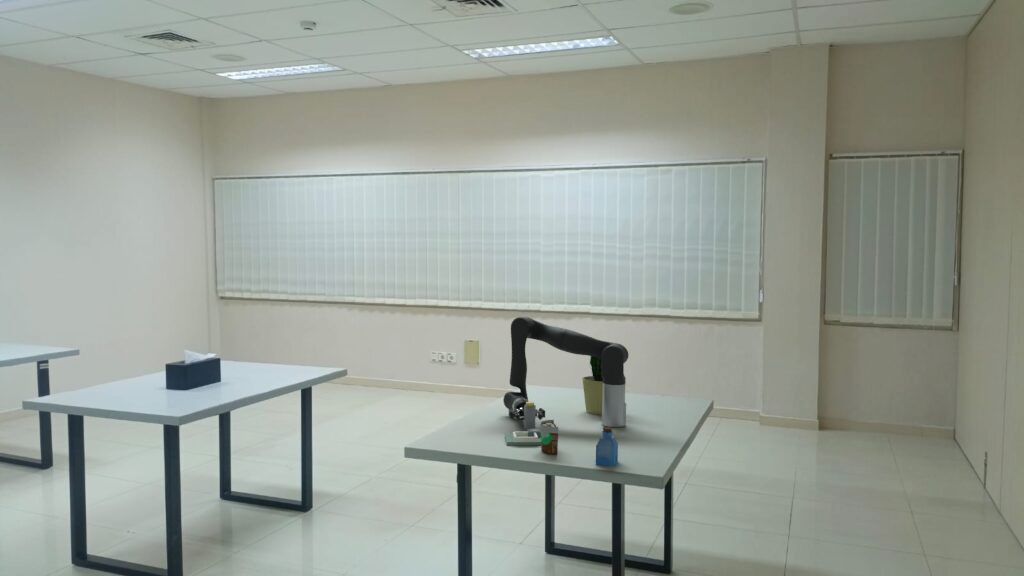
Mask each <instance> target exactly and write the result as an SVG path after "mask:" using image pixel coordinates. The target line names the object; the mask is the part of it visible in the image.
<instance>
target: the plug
mask: <svg viewBox="0 0 1024 576" xmlns="http://www.w3.org/2000/svg"><path fill="white" fill-rule="evenodd" d="M536 409H537V407H536V405H535V402H534V401H529V402H526V405H524V420H523V432H527V429H536V418H535V416H536Z"/></svg>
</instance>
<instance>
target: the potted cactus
mask: <svg viewBox="0 0 1024 576" xmlns="http://www.w3.org/2000/svg"><path fill="white" fill-rule="evenodd" d="M588 357H589V358H590V359H589V358H588V360H589V365H590V367H591V372H590V373H591V375H588V376H583V377H582V388H583V394H584V395H583V397H584V403H585V404H584V405H585V411H586V413H588V414H592V415H602V399H603V378H602V368H601V358H598V357H594V356H588Z"/></svg>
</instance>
